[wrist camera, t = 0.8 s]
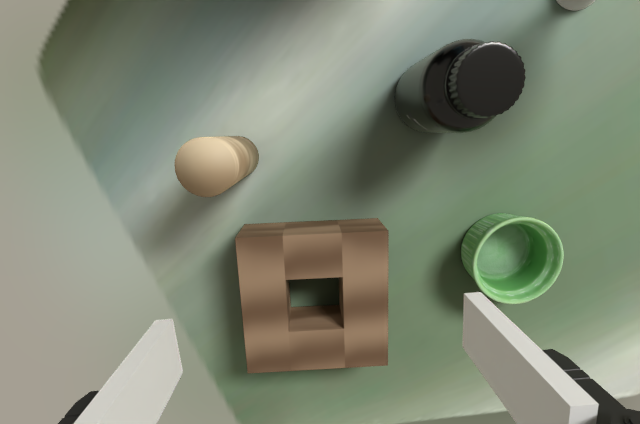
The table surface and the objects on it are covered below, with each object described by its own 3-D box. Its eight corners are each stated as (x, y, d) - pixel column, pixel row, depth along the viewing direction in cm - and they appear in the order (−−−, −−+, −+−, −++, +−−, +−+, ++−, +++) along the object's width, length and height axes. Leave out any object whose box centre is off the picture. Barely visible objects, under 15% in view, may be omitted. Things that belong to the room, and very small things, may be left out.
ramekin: (453, 213, 37) (472, 223, 33) (536, 203, 38) (566, 212, 33) (455, 290, 39) (474, 309, 35) (534, 281, 40) (562, 298, 35)
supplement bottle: (399, 139, 35) (444, 142, 24) (388, 69, 34) (430, 34, 22) (465, 125, 35) (544, 120, 24) (457, 54, 34) (537, 11, 22)
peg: (216, 137, 35) (171, 138, 23) (257, 135, 35) (232, 135, 23) (220, 177, 36) (178, 198, 24) (260, 175, 36) (237, 195, 24)
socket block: (244, 224, 37) (235, 237, 32) (377, 218, 37) (388, 230, 32) (254, 344, 40) (247, 373, 35) (377, 337, 40) (387, 365, 35)
